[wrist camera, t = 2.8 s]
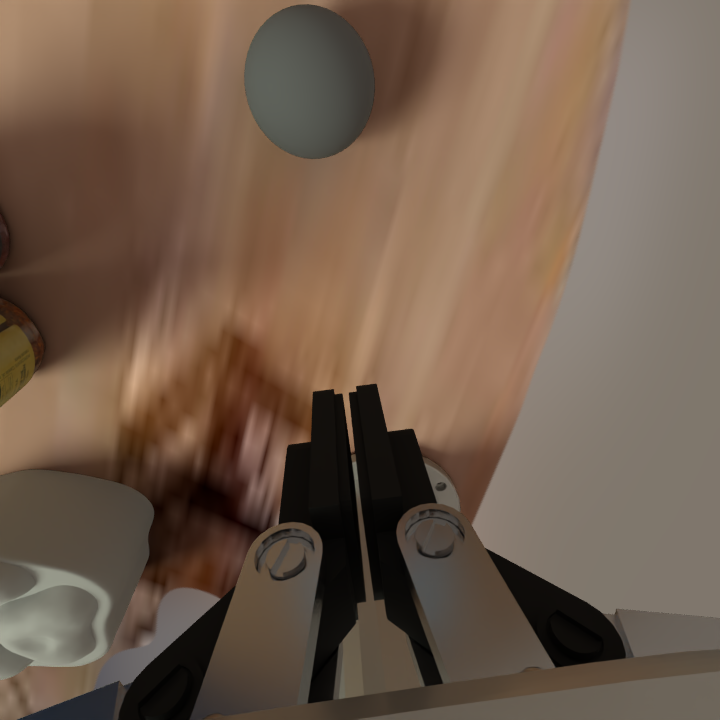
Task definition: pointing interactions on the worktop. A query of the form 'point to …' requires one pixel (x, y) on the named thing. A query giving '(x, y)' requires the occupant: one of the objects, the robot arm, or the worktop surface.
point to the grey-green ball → (309, 81)
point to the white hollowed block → (66, 566)
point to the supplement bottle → (3, 241)
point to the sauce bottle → (17, 350)
